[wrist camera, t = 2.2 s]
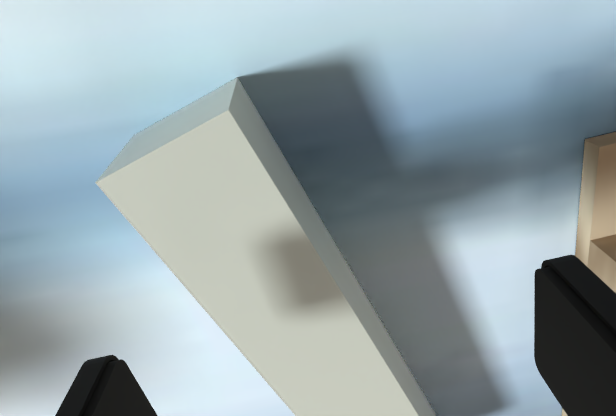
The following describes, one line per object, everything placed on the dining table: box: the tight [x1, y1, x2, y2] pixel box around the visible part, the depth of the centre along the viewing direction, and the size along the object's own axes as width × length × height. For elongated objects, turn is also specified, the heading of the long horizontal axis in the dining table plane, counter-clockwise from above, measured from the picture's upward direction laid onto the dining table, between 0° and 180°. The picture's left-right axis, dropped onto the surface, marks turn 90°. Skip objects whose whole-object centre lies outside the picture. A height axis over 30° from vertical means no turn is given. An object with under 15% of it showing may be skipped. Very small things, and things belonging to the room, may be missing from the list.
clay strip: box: [95, 77, 436, 416], centre depth 17 cm, size 20×4×4 cm, turn 27°
